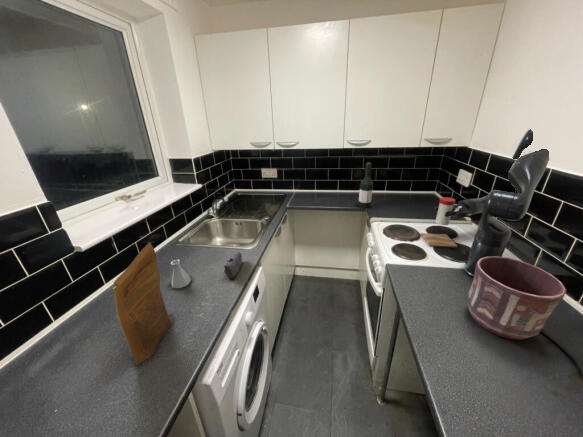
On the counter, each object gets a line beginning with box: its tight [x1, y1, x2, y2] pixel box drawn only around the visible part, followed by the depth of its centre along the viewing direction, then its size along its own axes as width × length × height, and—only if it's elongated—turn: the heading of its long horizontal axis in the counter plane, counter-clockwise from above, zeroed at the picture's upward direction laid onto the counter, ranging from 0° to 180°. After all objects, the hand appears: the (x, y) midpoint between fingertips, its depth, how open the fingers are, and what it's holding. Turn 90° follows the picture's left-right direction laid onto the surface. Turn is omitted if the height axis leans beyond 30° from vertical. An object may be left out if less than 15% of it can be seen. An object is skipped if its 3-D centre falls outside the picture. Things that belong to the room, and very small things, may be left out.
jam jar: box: [434, 202, 454, 226], centre depth 108 cm, size 6×6×12 cm
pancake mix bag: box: [111, 242, 172, 366], centre depth 63 cm, size 7×19×28 cm, turn 179°
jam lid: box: [438, 196, 456, 205], centre depth 105 cm, size 6×6×2 cm
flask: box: [170, 259, 192, 289], centre depth 89 cm, size 7×7×10 cm
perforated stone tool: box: [223, 251, 243, 279], centre depth 96 cm, size 15×5×7 cm, turn 172°
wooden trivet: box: [420, 232, 459, 249], centre depth 113 cm, size 12×12×1 cm
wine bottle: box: [357, 162, 374, 210], centre depth 153 cm, size 8×8×30 cm
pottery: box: [466, 256, 567, 341], centre depth 65 cm, size 18×18×18 cm
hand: (440, 211), depth 107 cm, fingers closed on jam jar, 5 cm apart
